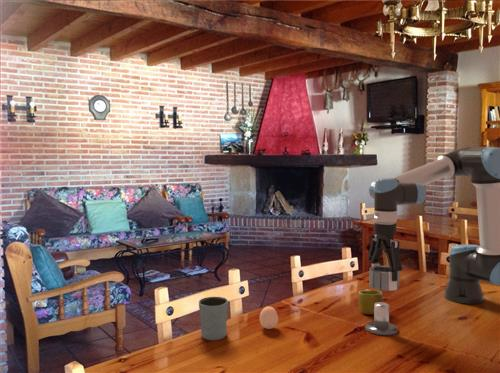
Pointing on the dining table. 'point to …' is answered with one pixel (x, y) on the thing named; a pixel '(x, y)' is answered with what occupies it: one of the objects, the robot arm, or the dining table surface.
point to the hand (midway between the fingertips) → (383, 285)
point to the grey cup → (213, 317)
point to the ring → (380, 277)
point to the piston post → (381, 321)
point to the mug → (369, 300)
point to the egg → (268, 318)
